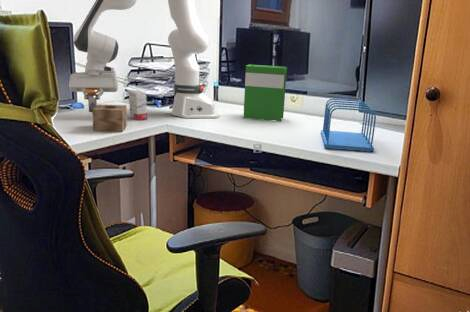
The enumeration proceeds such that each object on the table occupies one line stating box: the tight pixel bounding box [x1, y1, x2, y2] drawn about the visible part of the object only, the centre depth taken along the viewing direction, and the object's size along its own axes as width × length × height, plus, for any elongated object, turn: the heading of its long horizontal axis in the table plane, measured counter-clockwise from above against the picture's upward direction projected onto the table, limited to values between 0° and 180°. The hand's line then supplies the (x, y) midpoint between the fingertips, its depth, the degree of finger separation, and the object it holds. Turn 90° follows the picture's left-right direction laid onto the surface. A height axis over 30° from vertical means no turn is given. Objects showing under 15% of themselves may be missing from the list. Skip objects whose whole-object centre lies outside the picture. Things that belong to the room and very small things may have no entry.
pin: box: [85, 89, 99, 113], centre depth 200 cm, size 5×5×9 cm
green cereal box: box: [242, 64, 288, 122], centre depth 218 cm, size 18×7×24 cm, turn 77°
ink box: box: [128, 89, 148, 121], centre depth 206 cm, size 9×5×12 cm, turn 33°
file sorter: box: [320, 98, 377, 152], centre depth 179 cm, size 25×17×15 cm
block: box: [92, 103, 128, 133], centre depth 185 cm, size 11×11×8 cm
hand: (91, 98), depth 199 cm, fingers closed on pin, 3 cm apart
